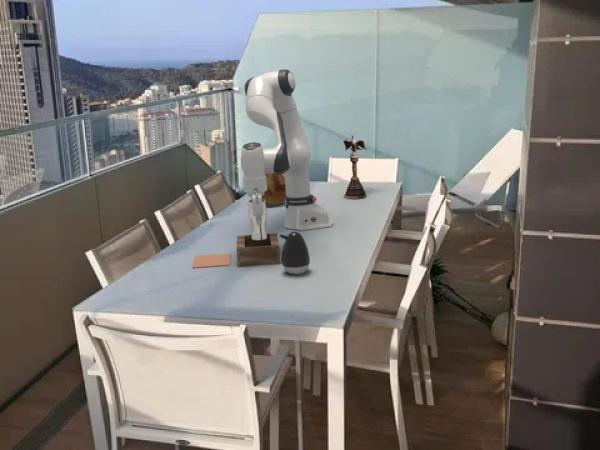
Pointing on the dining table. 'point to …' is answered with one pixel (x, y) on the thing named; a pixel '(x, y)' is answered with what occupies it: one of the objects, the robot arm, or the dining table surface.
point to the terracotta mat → (212, 260)
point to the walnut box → (258, 250)
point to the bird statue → (354, 170)
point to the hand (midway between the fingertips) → (258, 221)
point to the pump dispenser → (295, 254)
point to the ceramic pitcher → (275, 189)
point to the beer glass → (257, 230)
